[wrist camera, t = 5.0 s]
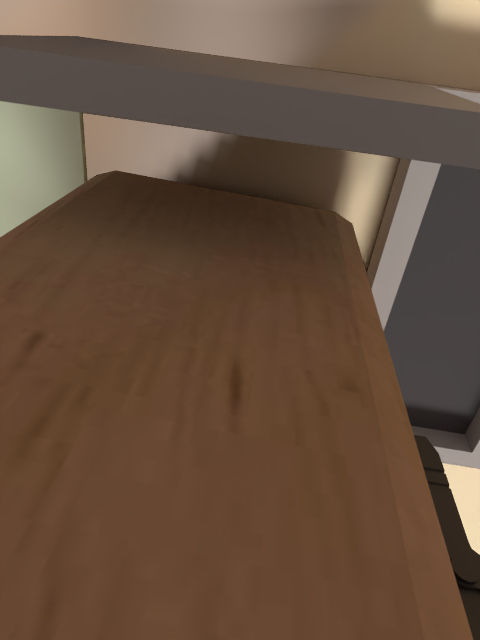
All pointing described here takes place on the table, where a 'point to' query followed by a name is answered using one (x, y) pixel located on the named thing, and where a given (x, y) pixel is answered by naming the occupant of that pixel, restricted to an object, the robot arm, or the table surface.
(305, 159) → the table surface
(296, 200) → the table surface
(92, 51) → the channel
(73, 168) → the pad
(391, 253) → the pit trap
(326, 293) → the wooden block
